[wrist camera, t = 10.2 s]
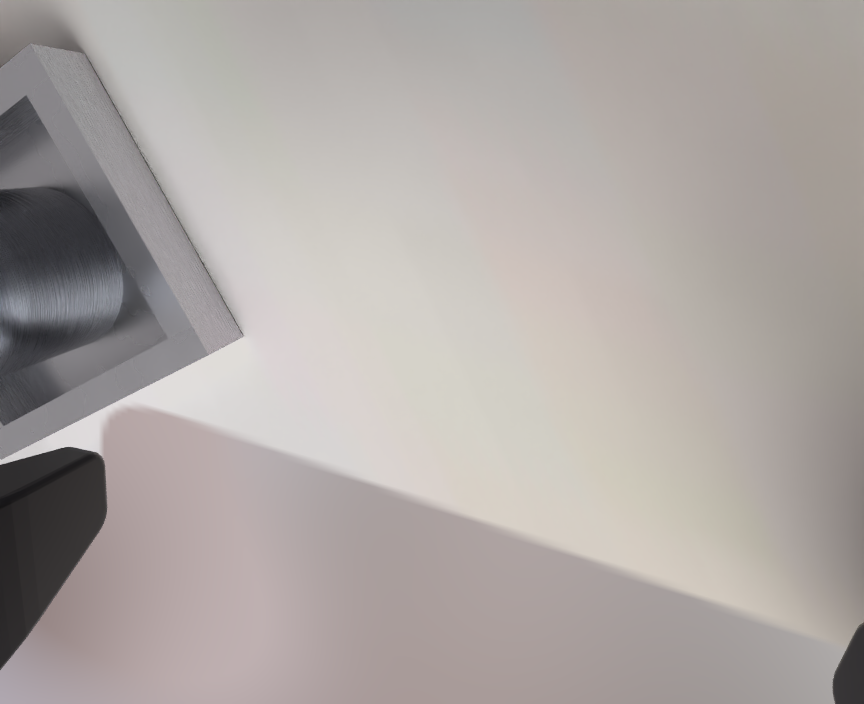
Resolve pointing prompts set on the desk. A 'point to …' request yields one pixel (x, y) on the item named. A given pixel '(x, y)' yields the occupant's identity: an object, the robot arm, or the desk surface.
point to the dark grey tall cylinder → (53, 277)
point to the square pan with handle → (129, 232)
